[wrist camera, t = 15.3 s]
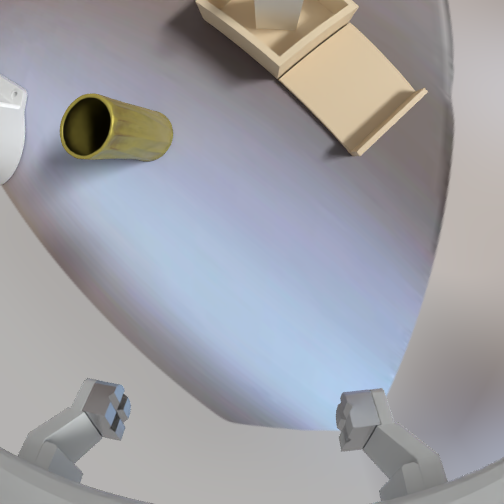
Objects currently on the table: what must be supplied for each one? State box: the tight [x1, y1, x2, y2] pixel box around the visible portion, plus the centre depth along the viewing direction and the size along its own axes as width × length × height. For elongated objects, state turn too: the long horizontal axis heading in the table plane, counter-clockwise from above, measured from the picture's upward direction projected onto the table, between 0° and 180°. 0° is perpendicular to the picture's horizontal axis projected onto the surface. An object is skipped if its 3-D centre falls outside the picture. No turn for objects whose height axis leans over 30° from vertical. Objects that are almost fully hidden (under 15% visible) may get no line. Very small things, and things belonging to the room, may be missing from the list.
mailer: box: [195, 0, 427, 156], centre depth 27 cm, size 24×12×5 cm, turn 45°
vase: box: [60, 94, 173, 161], centre depth 26 cm, size 6×6×14 cm
